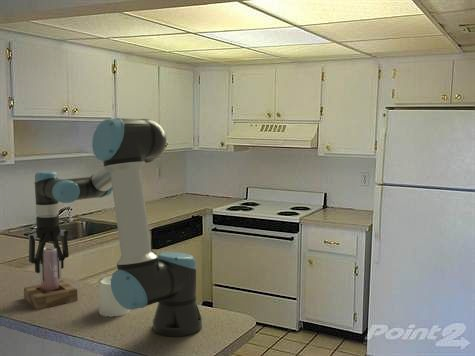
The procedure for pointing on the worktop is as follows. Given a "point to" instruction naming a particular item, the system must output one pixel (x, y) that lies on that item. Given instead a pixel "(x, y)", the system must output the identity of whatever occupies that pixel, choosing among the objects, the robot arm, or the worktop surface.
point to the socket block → (50, 295)
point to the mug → (109, 300)
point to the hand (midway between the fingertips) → (49, 279)
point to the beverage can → (50, 269)
